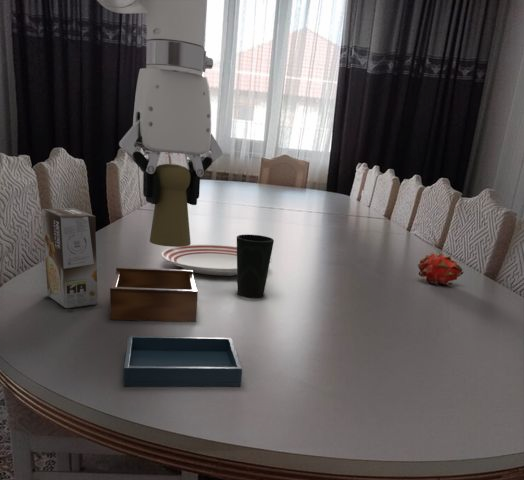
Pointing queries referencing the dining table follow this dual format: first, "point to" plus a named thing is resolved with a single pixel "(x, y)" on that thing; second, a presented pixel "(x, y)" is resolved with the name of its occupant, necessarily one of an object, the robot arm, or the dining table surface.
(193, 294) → the brown wooden open box
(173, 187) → the cork
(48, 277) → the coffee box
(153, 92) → the robot arm
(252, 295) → the cup
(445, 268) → the dragon fruit
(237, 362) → the tray
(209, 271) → the dinner plate
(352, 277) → the dining table surface
